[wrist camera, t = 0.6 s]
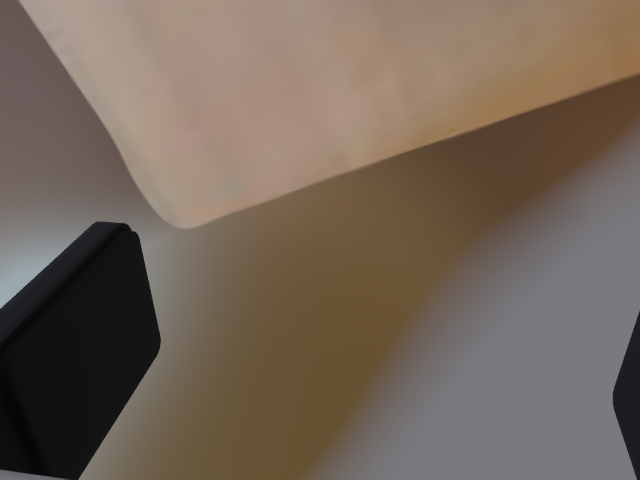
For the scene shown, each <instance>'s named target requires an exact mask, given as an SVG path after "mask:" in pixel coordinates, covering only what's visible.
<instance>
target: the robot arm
mask: <svg viewBox="0 0 640 480" xmlns="http://www.w3.org/2000/svg"><path fill="white" fill-rule="evenodd" d="M160 343H161V338H160V332H159V329H158V323H157V319H156V314H155V309H154V305H153V300H152V295H151V290H150V286H149V281H148V276H147V272H146V267H145V262H144V258H143V253H142V248H141V244H140V239H139V236H138V234H137V233H136V232H134V231H131V229H130V227H129V226H128V225H127V224H125V223H113V222H95V223H94V224H92V225H91V226H90V227H89V228H88V229H87V230H86V231H85V232H84V233H83V234H82V235H81V236H79V237H78V238H77V239H76V240H75V241H74V242H73V243H72V244H71V245H70V246H68V247H67V248H66V249H65V250H64V251H63V252H62V253H61V254H60V255H59V256H58V257H57V258H55V259H54V260H53V261H52V262H51V263H50V264H49V265H48V266H47V267H46V268H44V269H43V271H41V272H40V273H39V274H38V275H37V276H36V277H35V278H34V279H33V280H31V281H30V282H29V283H28V284H27V285H26V286H25V287H24V288H23V289H22V290H20V291H19V292H18V293H17V294H16V295H15V296H14V297H13V298H12V299H11V300H10V301H8V302H7V303H6V304H5V305H4V306H3V307H2V308H1V309H0V480H78V479H79V477H80V476H81V474H82V473H83V471H84V470H85V468H86V466H87V465H88V463H89V462H90V460H91V458H92V457H93V456H94V454H95V452H96V451H97V449H98V448H99V446H100V444H101V443H102V441H103V440H104V438H105V437H106V435H107V433H108V432H109V430H110V429H111V427H112V426H113V424H114V422H115V421H116V419H117V418H118V416H119V415H120V413H121V411H122V410H123V408H124V406H125V405H126V403H127V402H128V400H129V399H130V397H131V396H132V394H133V392H134V391H135V389H136V388H137V386H138V385H139V383H140V381H141V380H142V378H143V377H144V375H145V374H146V372H147V370H148V369H149V367H150V366H151V364H152V362H153V361H154V359H155V358H156V356H157V354H158V352H159V349H160ZM613 406H614V411H615V414H616V417H617V420H618V423H619V426H620V429H621V432H622V435H623V438H624V441H625V444H626V447H627V450H628V453H629V456H630V459H631V462H632V465H633V468H634V472H635V475H636V477H637V480H640V312H639V315H638V318H637V321H636V324H635V327H634V330H633V333H632V336H631V339H630V342H629V345H628V348H627V351H626V354H625V357H624V360H623V363H622V366H621V369H620V372H619V375H618V378H617V381H616V384H615V387H614V391H613Z"/></svg>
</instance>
